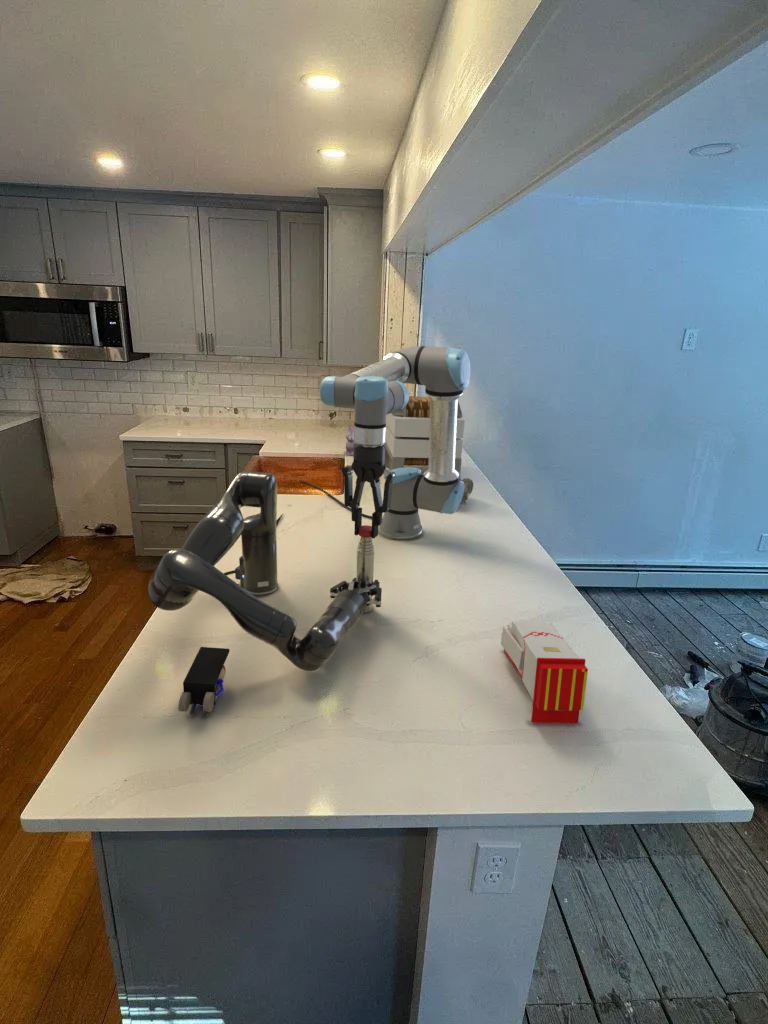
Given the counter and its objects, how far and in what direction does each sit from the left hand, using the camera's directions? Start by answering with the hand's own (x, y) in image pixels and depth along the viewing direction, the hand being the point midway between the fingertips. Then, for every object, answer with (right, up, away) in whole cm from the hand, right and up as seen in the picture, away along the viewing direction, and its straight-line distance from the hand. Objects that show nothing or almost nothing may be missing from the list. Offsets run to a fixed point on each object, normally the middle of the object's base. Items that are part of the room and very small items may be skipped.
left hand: (368, 581), depth 150 cm
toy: (+37, -18, -27) cm, 49 cm away
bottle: (-1, -7, 0) cm, 7 cm away
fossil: (+34, +22, +85) cm, 94 cm away
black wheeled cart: (-31, -19, -37) cm, 52 cm away
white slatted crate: (+21, +37, +125) cm, 132 cm away
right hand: (0, +13, -7) cm, 15 cm away
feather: (-34, +16, +60) cm, 71 cm away
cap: (0, +14, -8) cm, 16 cm away
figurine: (-13, +50, +156) cm, 164 cm away
